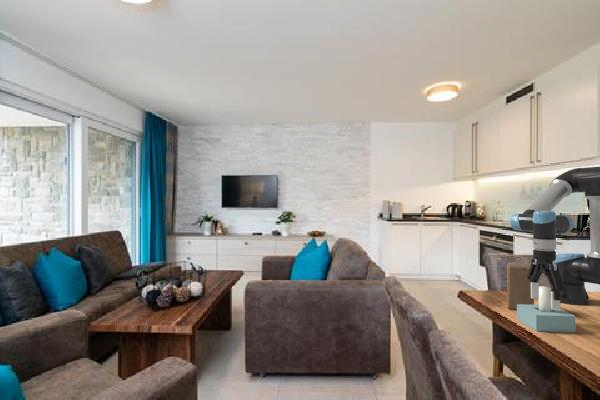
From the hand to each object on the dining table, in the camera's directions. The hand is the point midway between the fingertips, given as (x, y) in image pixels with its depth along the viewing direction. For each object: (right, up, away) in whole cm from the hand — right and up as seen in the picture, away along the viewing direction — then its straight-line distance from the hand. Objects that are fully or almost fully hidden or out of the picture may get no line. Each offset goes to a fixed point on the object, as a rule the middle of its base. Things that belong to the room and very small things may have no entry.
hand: (544, 303), depth 140 cm
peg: (0, -8, 0) cm, 8 cm away
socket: (0, -9, 0) cm, 9 cm away
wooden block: (+4, -9, +22) cm, 24 cm away
